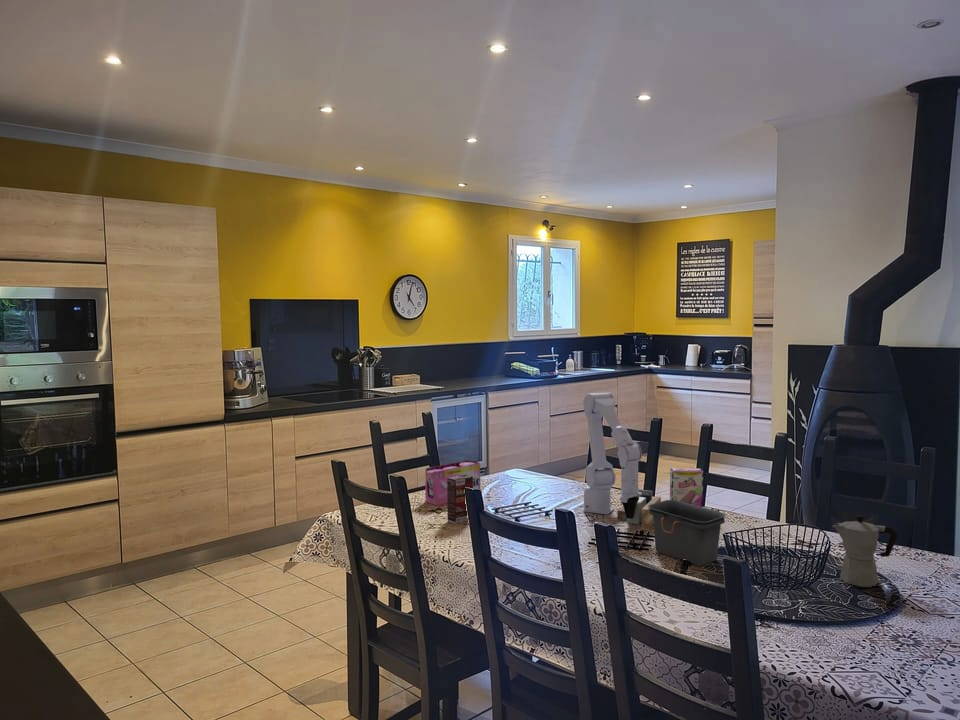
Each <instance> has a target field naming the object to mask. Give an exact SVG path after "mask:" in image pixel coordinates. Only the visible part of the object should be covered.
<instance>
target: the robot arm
mask: <svg viewBox="0 0 960 720" xmlns="http://www.w3.org/2000/svg"><path fill="white" fill-rule="evenodd" d="M615 404H616V400H615V397H614V395H613V393H612V392H610V391H606V392H594V393H591V392H590V393H589V392H588V393H586V394H585V396H584V398H583V410H584V416H586V420H587V427H588V428H587V429H588V435H589V437H588V438H589V445H590V452H591V453H590V455H591V462H590V463H589V464H588V465H587V466H586V468H585V471H586V473H585V481H586V484H587V485H586V486H585V488H584V491H583V513H591V514H592V513H593V514H601V515H609V514H610V513H612V511H613V512H614V510H615V508H614V507H611V506H612V504H611V503H612V502H611V493H612V492H611V488H613V485H615V483H616V480H617V479H616V474H615V472H614V471H615V470H614V468H613V464H612V463H610V462H608V460H607V454H606V447H605V439H604V429H603V421H602V418H603V417H604V419H605V421H606V423H608V425H609V427H610V428H611V437H612V439H613V441H614V444H615V445H616V448H617V449H618V451H617V458H618V460H619V465H620V467H621V468H620V469H621V471H620V472H621V473H620V477H621V479H620V483H621V488H620V489H621V490H620V495H621V496H620V499H619V500H620V503H621V505H622V506H623V507H624V510H625V514H626V518H629V519H633V517H634V513H635V508H636V505H637V502H638V500H639V497H635V496H640V495H642V493H641V492H639V491H638V489H639V461H640V460H641V459H642V455H643V451H642V448H641V445H639V443H636V441H633V439H632V437H631V434H630V433H629V431H628V429H627V427H625V426H622V423H621V421H620V419H619V416H618V413H617V411H616V410H615V406H616V405H615Z"/></svg>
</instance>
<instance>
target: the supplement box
mask: <svg viewBox="0 0 960 720" xmlns="http://www.w3.org/2000/svg"><path fill="white" fill-rule="evenodd" d="M465 487H470V488H473V477H472V476H469V475H461V476H456V477H451V478H447V503H446V504H447V522H448V523H450V524H454V525H457V524H460V523H466V522H468V518H467V511H466V504H465V493H464V489H465Z"/></svg>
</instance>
